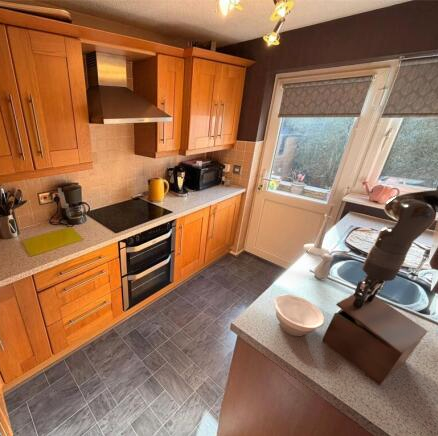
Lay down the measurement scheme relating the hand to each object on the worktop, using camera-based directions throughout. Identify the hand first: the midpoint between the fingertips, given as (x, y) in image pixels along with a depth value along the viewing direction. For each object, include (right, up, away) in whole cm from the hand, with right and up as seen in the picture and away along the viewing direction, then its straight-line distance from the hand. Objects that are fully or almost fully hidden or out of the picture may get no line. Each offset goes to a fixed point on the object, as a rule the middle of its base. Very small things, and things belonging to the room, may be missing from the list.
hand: (362, 303), depth 76 cm
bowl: (-16, -14, +12) cm, 24 cm away
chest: (+2, -18, +3) cm, 18 cm away
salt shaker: (+14, -2, +38) cm, 41 cm away
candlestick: (+29, +9, +61) cm, 68 cm away
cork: (+1, -16, +5) cm, 17 cm away
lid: (+2, -4, -3) cm, 5 cm away
